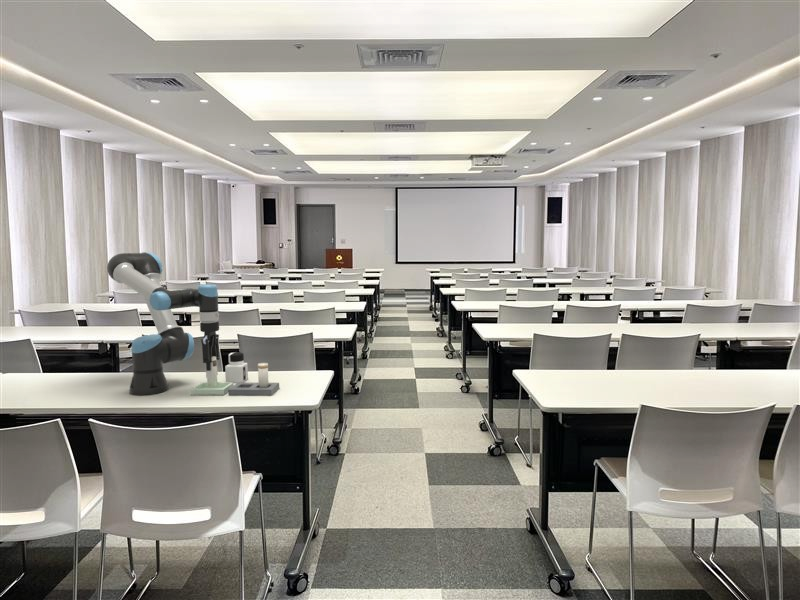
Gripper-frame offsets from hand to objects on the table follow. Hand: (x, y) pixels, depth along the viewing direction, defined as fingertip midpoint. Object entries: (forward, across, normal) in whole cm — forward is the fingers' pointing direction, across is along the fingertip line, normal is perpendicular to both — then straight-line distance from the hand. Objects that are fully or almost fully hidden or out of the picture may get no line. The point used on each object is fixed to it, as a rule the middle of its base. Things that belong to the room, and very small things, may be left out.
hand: (212, 376), depth 245 cm
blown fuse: (+4, 0, 0) cm, 4 cm away
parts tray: (+7, 0, 0) cm, 7 cm away
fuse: (+7, 0, -22) cm, 23 cm away
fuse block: (+7, 0, -18) cm, 19 cm away
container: (+7, +19, -4) cm, 21 cm away
